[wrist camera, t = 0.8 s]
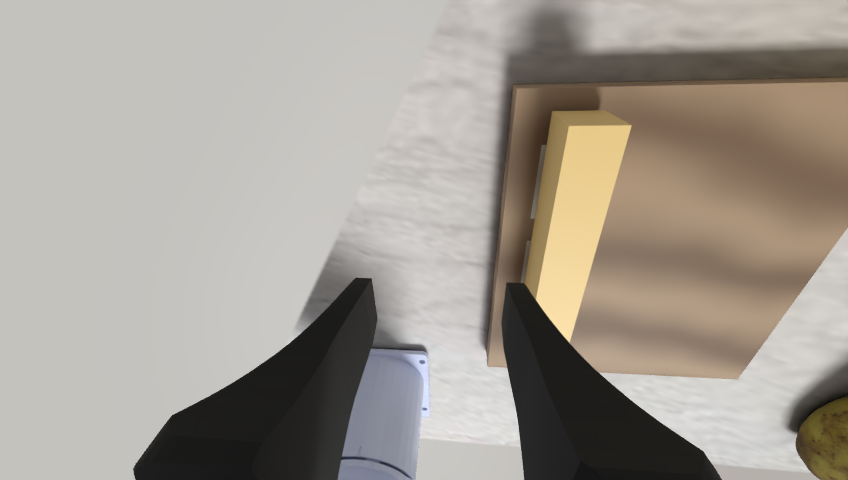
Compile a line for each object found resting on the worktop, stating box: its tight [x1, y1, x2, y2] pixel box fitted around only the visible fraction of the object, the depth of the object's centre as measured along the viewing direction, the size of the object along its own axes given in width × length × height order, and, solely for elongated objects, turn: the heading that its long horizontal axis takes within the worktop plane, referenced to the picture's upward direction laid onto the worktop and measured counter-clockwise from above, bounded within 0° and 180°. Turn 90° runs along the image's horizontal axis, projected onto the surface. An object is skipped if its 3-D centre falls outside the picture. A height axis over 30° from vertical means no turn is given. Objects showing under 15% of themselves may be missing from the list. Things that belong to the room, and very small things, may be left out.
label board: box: [486, 77, 848, 379], centre depth 22 cm, size 21×19×2 cm
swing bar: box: [524, 110, 632, 343], centre depth 20 cm, size 18×3×3 cm, turn 2°
